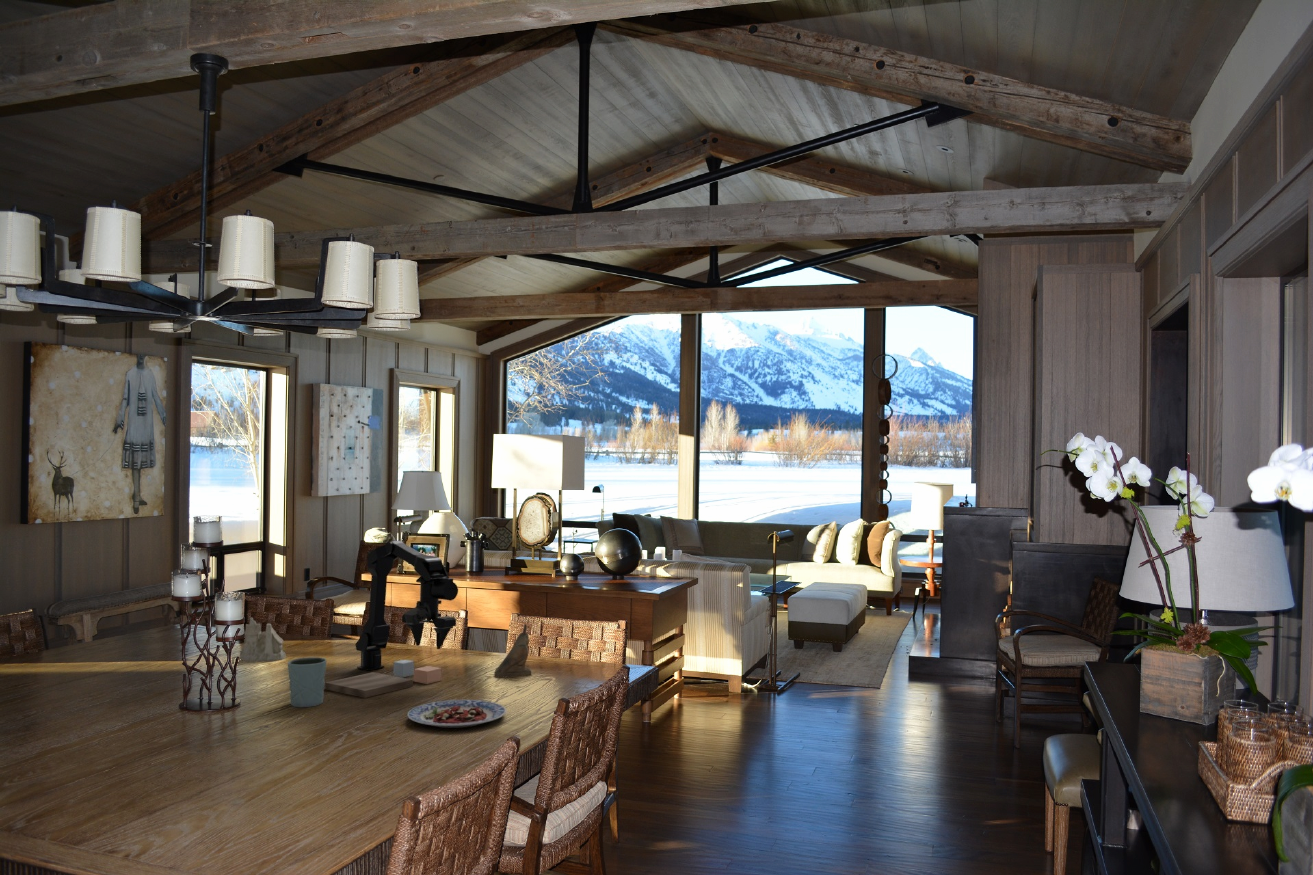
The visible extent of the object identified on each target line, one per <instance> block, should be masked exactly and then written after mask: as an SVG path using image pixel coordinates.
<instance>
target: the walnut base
mask: <svg viewBox="0 0 1313 875" xmlns="http://www.w3.org/2000/svg"><path fill="white" fill-rule="evenodd" d="M413 682H414V679H412V678H411V679H410V678H406V677H397V676H393V675H390V674H384V673H379V672H375V671H372V672H368V673H364V674H359V675H355V676H349V677H345V678H340V679H336V680H329V681H326V682H325V681H324V689H325V690H326V691H332V692H336V693H341V694H345V695H349V696H354V697H359V698H364V699H365V698H370V697H374V696H379V695H382V694H386V693H391V692H394V691H395V692H396V691H398V690H402V689H406V688H407V689H408V688H411V687H414V685H413Z"/></svg>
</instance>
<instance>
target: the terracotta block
mask: <svg viewBox="0 0 1313 875" xmlns="http://www.w3.org/2000/svg"><path fill="white" fill-rule="evenodd" d="M442 669H443V668H441V667H437V666H430V665H426V666H421V667H418V668H414V675H413V682H414V683H415V682H416V683H420V684H426V685H428V684H432V683H437V682H440V681H442Z"/></svg>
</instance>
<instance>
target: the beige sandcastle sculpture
mask: <svg viewBox="0 0 1313 875" xmlns="http://www.w3.org/2000/svg"><path fill="white" fill-rule="evenodd" d="M244 638H245V639H244ZM244 638H243V641H244V642H243V644H242V646H241V647H242V648H241V650H240V652H239V658H240V659H241V660H243V661H242V662H248V663H249V662H250V663H253V662H257V663H258V662H262V663H263V662H264V663H265V662H279V661H284V660H285V659H286V658H287V657H286V656H287V655H286V652H285V651H283V650H284V645H283V643H284V640H283V638H282V637H280V636H279V634H277V632H276V630H275V629H274V628H273V626H272V624H271V623H266V627H265V631H262V625H261V623H257V621H256V620H254V618H253V617H252V616H251V617H249V624H247V623H246V624H245V631H244ZM241 660H240V661H241Z"/></svg>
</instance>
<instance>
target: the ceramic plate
mask: <svg viewBox="0 0 1313 875" xmlns="http://www.w3.org/2000/svg"><path fill="white" fill-rule="evenodd" d="M506 713H507V709H506V707H505V706H503V705H502V704H499V703H496V702H492V701H486V700H479V699H452V700H450V699H449V700H442V701H434V702H430V703H425V704H421V705H418V706H415V707H413V708H411V709H410V710H409V711H408V712H407V718H408V719H409V720H411V721H412V722H416V723H418V724H422V725H426V726H427V725H428V726H432V727H435V728H436V727H437V728H445V729H447V728H450V729H451V728H452V729H457V728H469V727H473V726H479V725H483V724H485V723H488V722H492V721H496V720H498V719H500V718H501V717H504V716H505V714H506Z"/></svg>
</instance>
